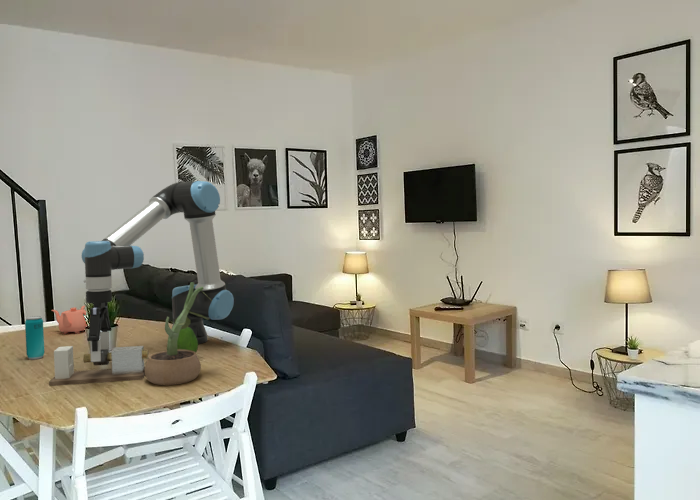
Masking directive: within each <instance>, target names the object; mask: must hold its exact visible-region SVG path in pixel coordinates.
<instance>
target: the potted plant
mask: <svg viewBox="0 0 700 500" xmlns="http://www.w3.org/2000/svg"><path fill="white" fill-rule="evenodd" d="M189 285H190V288H189V293H188V296H187V298H186V302H185V305H184V309H183V311H182V313H181V314H180V315H179V317H177V318H176V319H175V324H174V326H173V325H172V326H173V327H171V328H170V325H169V322H170V323H172V324H173V323H174V322H173V321H170V316H166V319H165V323H164V331H165V333H166V334H167V336H168V337H167V343H166V350H161V351H157V352H153V353H151V354H150V355H148V359H146V360H147V361H146V363H145V364H144V367H145V376H144V377H146V380H147V381H148V382H150V383H152V384H154V385H157V386H158V385H159V386H172V385H173V386H175V385H182V384H186V383H188V382H192V381H193V380H196V378H197V377H198V376H199V375H200V372H201V369H202V366H201V365H202V364H201V361H200V359H199V357H198V354H197V351H196V352H194V351H191V350H181V349H179V350H177V340H178V336H179V332H180V329H184V328H187V327H188V326H189V325H190V319H189V318H188V317H187V315H188V313H191V314H194V315H197V316H200V317H202V318H203V319H205V320H210V319H208V318H207V317H205V316H203V315H200V314H197V313H194V312H191V311H189V310H190V309H191V307H192V305H193V303H194V300H195V298H196V295H197V294H198V292H200V291H201V290H204V289H203V286H202V287H199V288H197V289H196V290H195V291H194V292H193V289H194V285H195V282H194V281H193V282H190V284H189ZM203 293H204V292H203ZM204 294H205V293H204ZM205 295H206V294H205ZM206 296H207V295H206ZM207 297H208V296H207ZM208 298H209V297H208ZM209 299H210V298H209ZM210 300H211V299H210ZM211 301H212V300H211Z"/></svg>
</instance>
